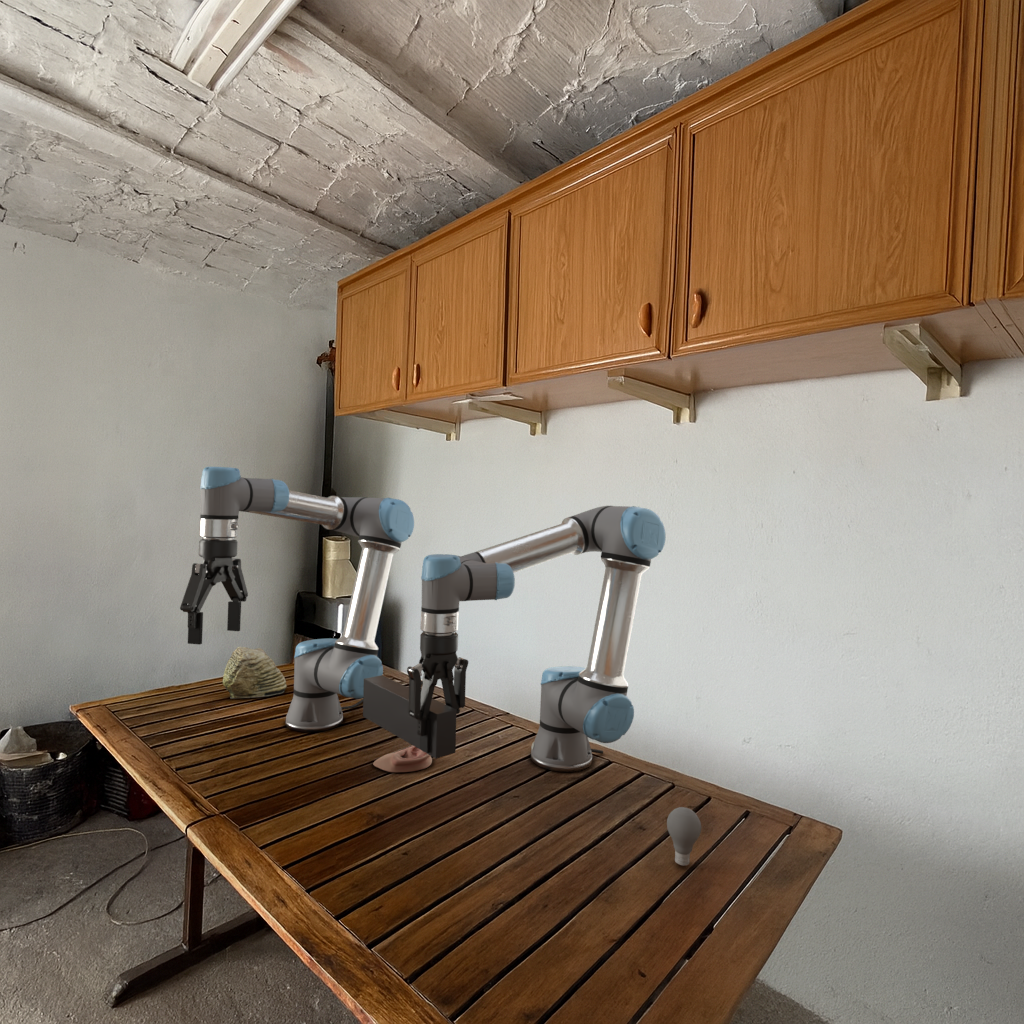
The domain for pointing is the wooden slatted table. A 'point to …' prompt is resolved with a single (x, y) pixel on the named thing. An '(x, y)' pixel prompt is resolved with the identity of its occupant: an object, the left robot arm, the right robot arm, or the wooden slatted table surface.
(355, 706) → the left robot arm
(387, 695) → the bar
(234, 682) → the fossil
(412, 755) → the anatomical model
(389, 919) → the wooden slatted table surface
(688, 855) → the light bulb
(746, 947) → the wooden slatted table surface
